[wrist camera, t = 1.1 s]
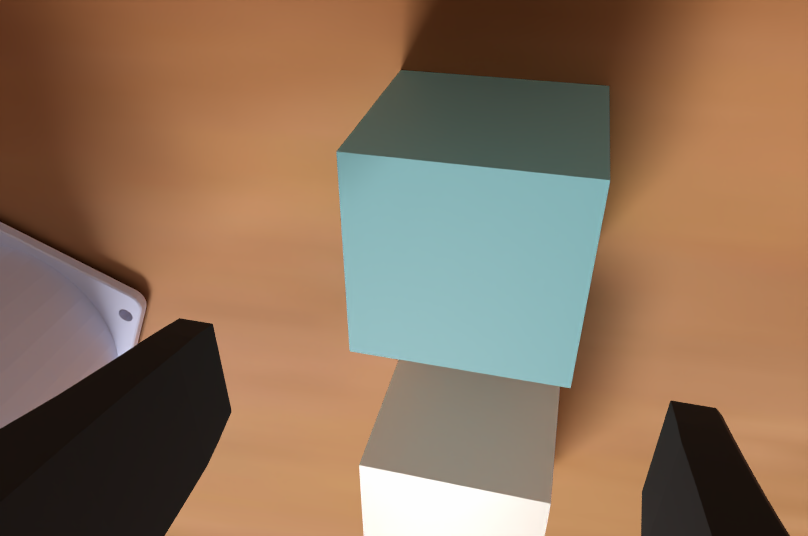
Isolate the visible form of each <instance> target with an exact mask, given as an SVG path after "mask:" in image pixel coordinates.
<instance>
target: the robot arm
mask: <svg viewBox="0 0 808 536" xmlns="http://www.w3.org/2000/svg"><path fill="white" fill-rule="evenodd" d="M128 311H129V312H128ZM145 311H146V300H145V298H144V296H143V295H142V294H141V293H140V292H138V291H137V290H135V289H133V288H131V287H129V286H127V285H125V284H123V283H121V282H119V281H117V280H115V279H113V278H111V277H109V276H107V275H105V274H103V273H101V272H99V271H97V270H95V269H93V268H91V267H89V266H87V265H85V264H83V263H81V262H79V261H77V260H75V259H73V258H71V257H69V256H67V255H65V254H63V253H61V252H59V251H57V250H56V249H54V248H52V247H50V246H48V245H46V244H44V243H42V242H40V241H38V240H36V239H34V238H32V237H30V236H28V235H26V234H24V233H22V232H20V231H18V230H16V229H14V228H12V227H10V226H8V225H6V224H4V223H2V222H0V536H165V534H166V532H167V531H168V529H169V527H170V526H171V524H172V523H173V521H174V519H175V518H176V516H177V515H178V513H179V511H180V510H181V508H182V507H183V505H184V503H185V502H186V500H187V498H188V497H189V495H190V493H191V492H192V490H193V488H194V487H195V485H196V483H197V482H198V480H199V479H200V477H201V475H202V473H203V472H204V470H205V468H206V467H207V465H208V463H209V461H210V458H211V456H212V454H213V452H214V450H215V448H216V446H217V444H218V441H219V439H220V437H221V434H222V432H223V430H224V428H225V425H226V423H227V421H228V418H229V416H230V414H231V406H230V402H229V397H228V393H227V388H226V383H225V379H224V374H223V369H222V365H221V360H220V356H219V351H218V346H217V342H216V337H215V332H214V328H213V324H210V323H204V322H198V321H192V320H186V319H178V320H176V321H174V322H173V323H171V324H169V325H168V326H166V327H164V328H163V329H161V330H159V331H158V332H156V333H155V334H153V335H151V336H150V337H148V338H147V339H145V340H143V341H142V342H140V343H139V344H138V340H139V336H140V331H141V327H142V323H143V319H144V315H145ZM641 536H790V535H789V534H788V532H787V531H786V529H785V527H784V526H783V524H782V522H781V521H780V519H779V518H778V516H777V514H776V513H775V511H774V509H773V508H772V506H771V504H770V502H769V501H768V499H767V497H766V496H765V494H764V492H763V490H762V489H761V487H760V485H759V483H758V482H757V480H756V478H755V476H754V475H753V473H752V471H751V469H750V467H749V466H748V464H747V462H746V460H745V458H744V456H743V455H742V453H741V451H740V449H739V447H738V445H737V443H736V442H735V440H734V438H733V436H732V434H731V432H730V430H729V428H728V426H727V424H726V422H725V420H724V419H723V417H722V415H721V414H720V412H719V411H718V410H717V409H716V408H712V407H706V406H700V405H694V404H688V403H682V402H676V401H670V404H669V408H668V411H667V414H666V417H665V420H664V423H663V427H662V430H661V433H660V436H659V439H658V443H657V446H656V449H655V452H654V455H653V458H652V462H651V465H650V468H649V471H648V474H647V478H646V481H645V484H644V487H643V490H642V523H641Z"/></svg>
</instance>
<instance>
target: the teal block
mask: <svg viewBox="0 0 808 536" xmlns="http://www.w3.org/2000/svg"><path fill="white" fill-rule="evenodd" d="M337 167H338V182H339V197H340V212H341V227H342V242H343V257H344V272H345V287H346V302H347V317H348V332H349V347H350V351H352V352H357V353H363V354H369V355H375V356H381V357H387V358H393V359H399V360H405V361H411V362H417V363H423V364H429V365H435V366H441V367H447V368H453V369H459V370H465V371H471V372H477V373H483V374H489V375H495V376H501V377H506V378H512V379H518V380H524V381H530V382H536V383H542V384H548V385H554V386H560V387H566V388H571V383H572V378H573V373H574V367H575V362H576V357H577V352H578V347H579V341H580V336H581V331H582V326H583V320H584V315H585V310H586V305H587V299H588V294H589V289H590V284H591V278H592V273H593V268H594V263H595V257H596V252H597V247H598V242H599V237H600V231H601V226H602V221H603V216H604V210H605V205H606V200H607V195H608V189H609V184H610V95H609V86H604V85H591V84H578V83H565V82H552V81H539V80H526V79H513V78H500V77H487V76H474V75H460V74H447V73H434V72H421V71H408V70H400V72H399V73H398V74H397V75H396V77H395V78H394V79H393V81H392V82H391V83H390V84H389V86H388V87H387V88H386V89H385V91H384V92H383V93H382V94H381V96H380V97H379V98H378V100H377V101H376V102H375V103H374V105H373V106H372V107H371V108H370V110H369V111H368V112H367V114H366V115H365V116H364V117H363V119H362V120H361V121H360V122H359V124H358V125H357V126H356V127H355V129H354V130H353V131H352V133H351V134H350V135H349V136H348V138H347V139H346V140H345V141H344V143H343V144H342V145H341V147H340V148H339V149H338V150H337Z"/></svg>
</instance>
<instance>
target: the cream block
mask: <svg viewBox="0 0 808 536" xmlns="http://www.w3.org/2000/svg"><path fill="white" fill-rule="evenodd" d="M559 393H560V386H554V385H548V384H542V383H536V382H530V381H524V380H518V379H512V378H506V377H501V376H495V375H489V374H483V373H477V372H471V371H465V370H459V369H453V368H447V367H441V366H435V365H429V364H423V363H417V362H411V361H405V360H398V363H397V366H396V368H395V371H394V374H393V376H392V379H391V382H390V384H389V387H388V390H387V392H386V395H385V398H384V400H383V403H382V406H381V408H380V411H379V414H378V416H377V419H376V422H375V424H374V427H373V430H372V432H371V435H370V438H369V440H368V443H367V446H366V448H365V451H364V454H363V456H362V459H361V462H360V464H359V469H360V485H361V500H362V516H363V532H364V536H545V531H546V526H547V520H548V515H549V510H550V505H551V494H552V481H553V469H554V456H555V443H556V431H557V418H558V405H559Z"/></svg>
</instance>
